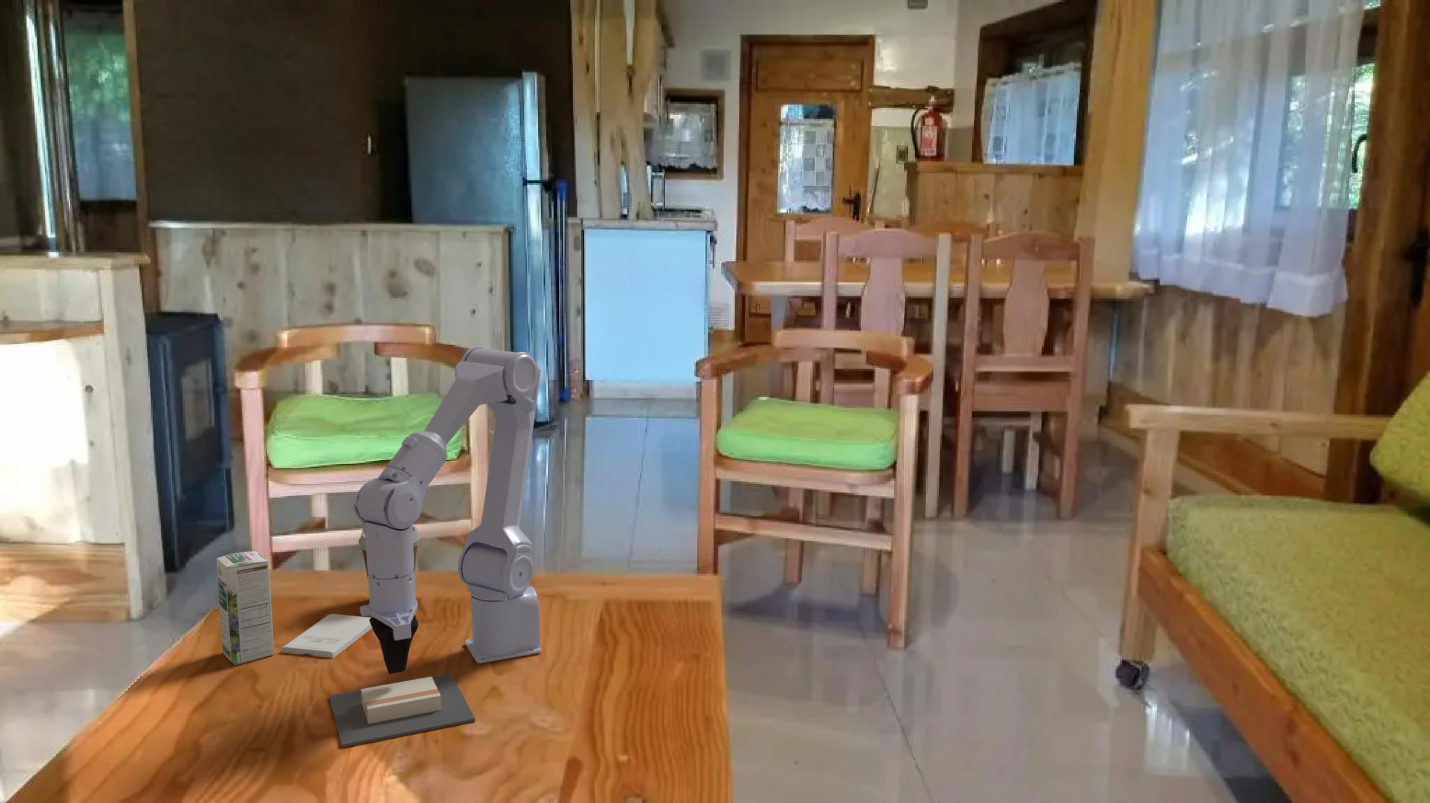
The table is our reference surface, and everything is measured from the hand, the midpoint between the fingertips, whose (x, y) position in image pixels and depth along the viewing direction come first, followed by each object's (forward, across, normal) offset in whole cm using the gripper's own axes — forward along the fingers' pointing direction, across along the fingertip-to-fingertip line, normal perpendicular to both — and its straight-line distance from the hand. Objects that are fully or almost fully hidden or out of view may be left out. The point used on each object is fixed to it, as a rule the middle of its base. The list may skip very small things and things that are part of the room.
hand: (396, 670), depth 140 cm
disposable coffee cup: (+5, -36, +5) cm, 36 cm away
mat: (+4, +2, 0) cm, 5 cm away
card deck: (+3, -1, 0) cm, 3 cm away
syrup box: (+5, -24, -17) cm, 30 cm away
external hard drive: (+5, -25, -6) cm, 26 cm away
